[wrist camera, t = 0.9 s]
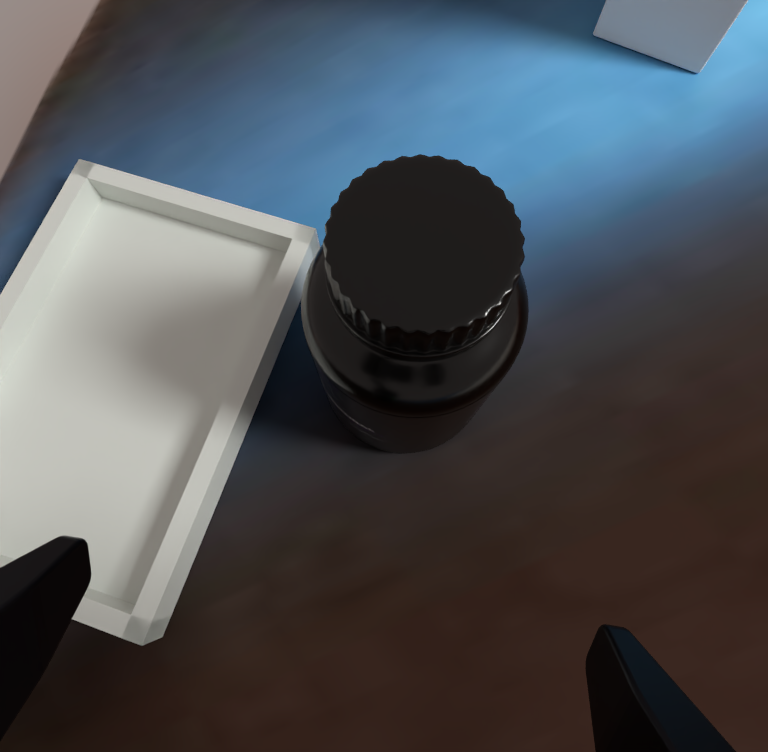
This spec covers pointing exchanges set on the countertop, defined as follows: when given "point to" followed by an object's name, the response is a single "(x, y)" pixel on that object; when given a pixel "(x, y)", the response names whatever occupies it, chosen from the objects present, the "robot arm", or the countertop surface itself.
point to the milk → (669, 28)
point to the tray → (136, 378)
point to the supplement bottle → (415, 301)
